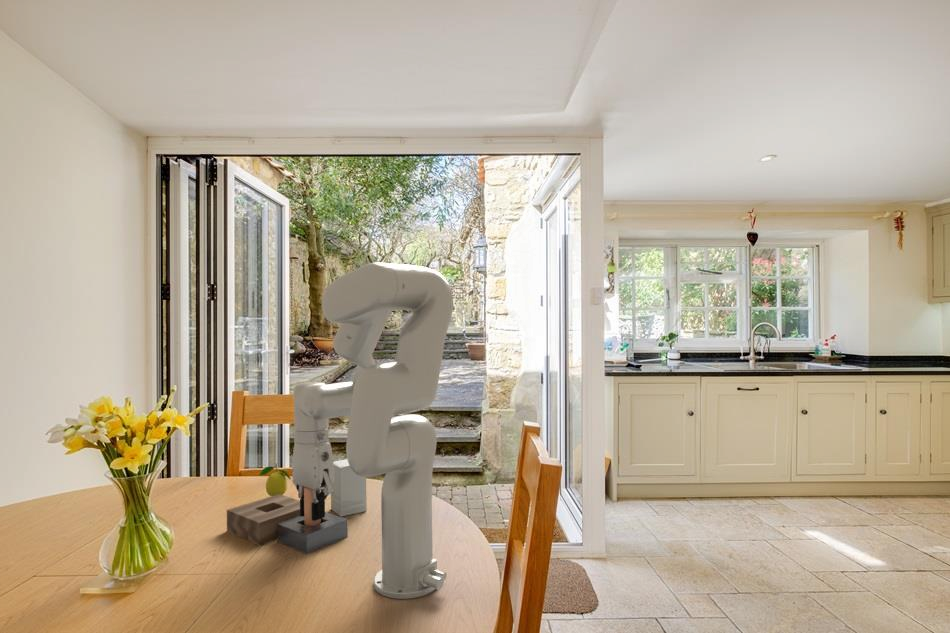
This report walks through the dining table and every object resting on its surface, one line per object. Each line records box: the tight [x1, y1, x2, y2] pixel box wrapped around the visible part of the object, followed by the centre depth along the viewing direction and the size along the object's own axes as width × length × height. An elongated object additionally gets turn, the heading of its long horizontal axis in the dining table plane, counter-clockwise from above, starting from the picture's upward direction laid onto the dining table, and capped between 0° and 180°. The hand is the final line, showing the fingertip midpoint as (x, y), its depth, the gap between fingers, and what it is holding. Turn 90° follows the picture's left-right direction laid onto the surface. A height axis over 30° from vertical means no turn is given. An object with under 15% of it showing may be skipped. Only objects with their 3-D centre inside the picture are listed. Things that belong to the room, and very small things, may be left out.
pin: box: [304, 487, 321, 527], centre depth 121 cm, size 4×4×12 cm
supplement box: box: [330, 458, 368, 517], centre depth 140 cm, size 7×7×13 cm
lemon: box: [259, 462, 292, 497], centre depth 149 cm, size 7×6×10 cm
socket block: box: [226, 494, 300, 546], centre depth 128 cm, size 14×14×5 cm
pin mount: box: [276, 511, 349, 555], centre depth 121 cm, size 11×11×4 cm
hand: (312, 515), depth 121 cm, fingers closed on pin, 3 cm apart
